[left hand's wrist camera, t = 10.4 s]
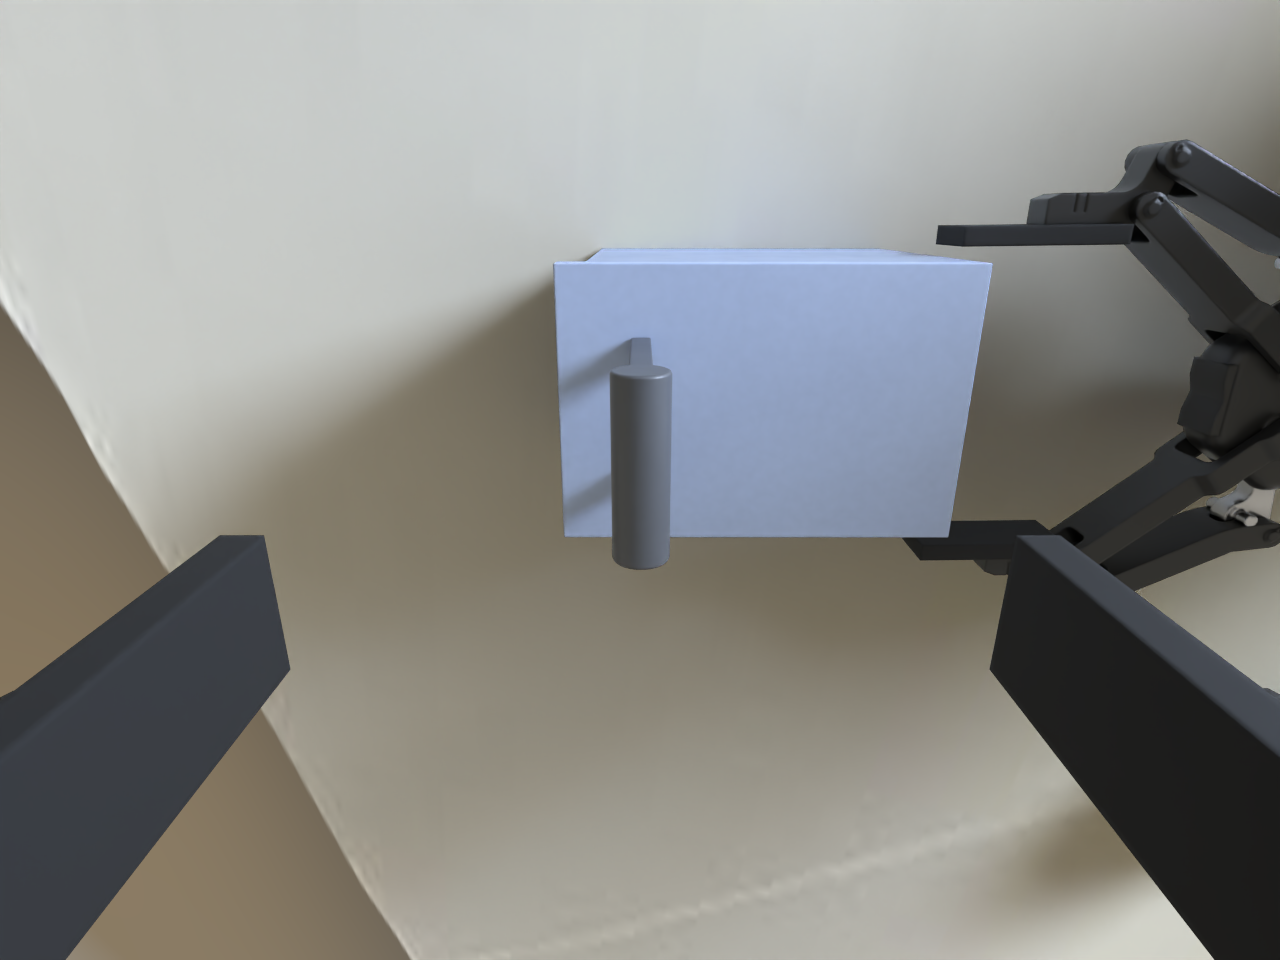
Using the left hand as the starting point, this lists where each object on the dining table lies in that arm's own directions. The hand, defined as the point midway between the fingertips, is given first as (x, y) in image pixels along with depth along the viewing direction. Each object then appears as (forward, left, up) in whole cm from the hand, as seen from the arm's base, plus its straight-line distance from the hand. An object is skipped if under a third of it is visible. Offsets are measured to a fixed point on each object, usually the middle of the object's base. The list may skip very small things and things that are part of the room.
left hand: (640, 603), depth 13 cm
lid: (0, +4, -15) cm, 16 cm away
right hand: (+1, +13, -20) cm, 23 cm away
